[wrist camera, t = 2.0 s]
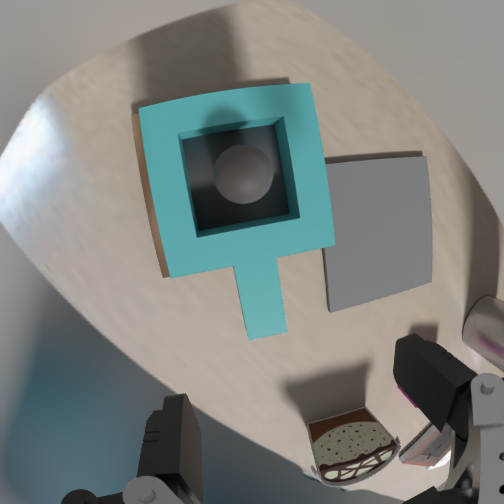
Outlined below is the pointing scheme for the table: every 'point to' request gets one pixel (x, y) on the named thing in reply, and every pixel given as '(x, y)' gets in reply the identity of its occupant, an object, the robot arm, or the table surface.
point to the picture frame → (428, 448)
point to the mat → (378, 229)
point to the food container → (350, 447)
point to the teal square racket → (252, 232)
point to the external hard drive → (441, 461)
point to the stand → (224, 179)
